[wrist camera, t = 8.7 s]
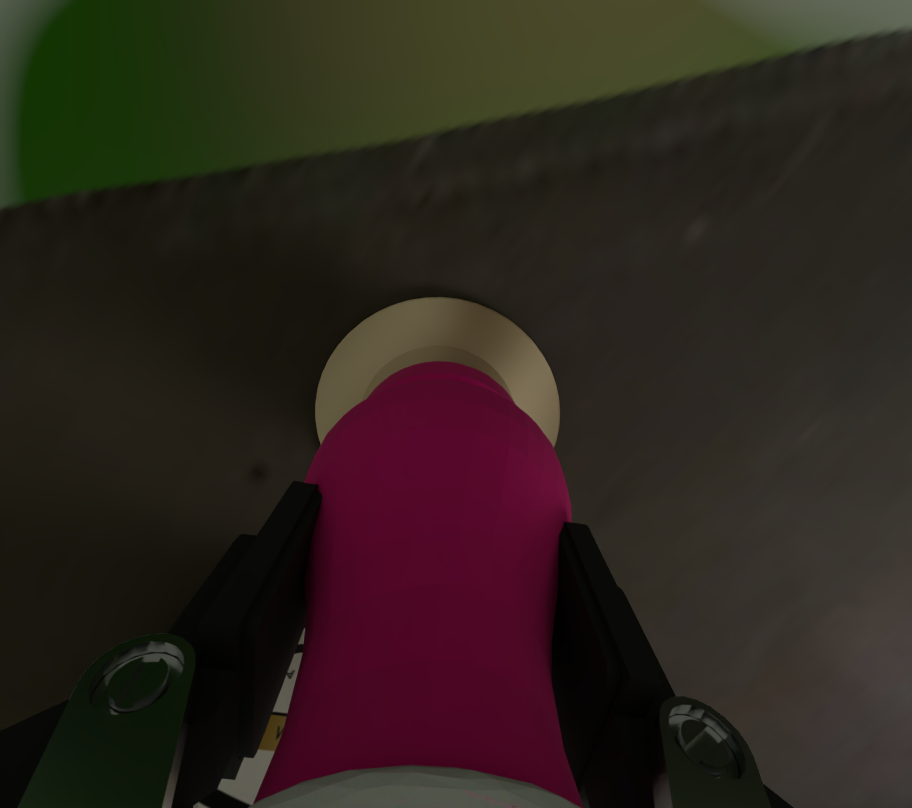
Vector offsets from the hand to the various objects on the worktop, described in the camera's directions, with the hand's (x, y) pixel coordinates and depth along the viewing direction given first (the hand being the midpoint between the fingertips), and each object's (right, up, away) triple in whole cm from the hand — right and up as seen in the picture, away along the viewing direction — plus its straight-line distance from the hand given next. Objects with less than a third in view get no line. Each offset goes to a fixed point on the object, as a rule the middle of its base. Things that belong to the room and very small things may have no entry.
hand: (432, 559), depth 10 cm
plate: (0, +3, +8) cm, 9 cm away
